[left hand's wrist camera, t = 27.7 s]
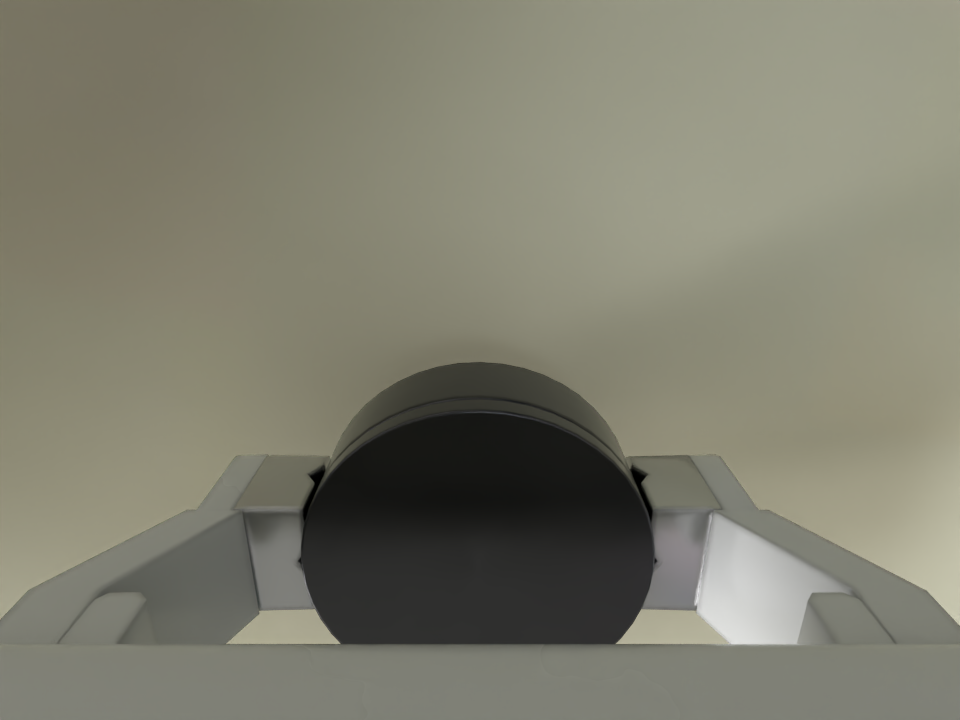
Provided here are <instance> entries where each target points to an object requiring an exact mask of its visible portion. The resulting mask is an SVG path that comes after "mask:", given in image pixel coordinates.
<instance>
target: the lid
mask: <svg viewBox="0 0 960 720" xmlns="http://www.w3.org/2000/svg"><path fill="white" fill-rule="evenodd" d="M654 560H655V544H654V534H653V529H652V525H651V521H650V518H649V514H648V511H647V509H646V506H645V504H644V502H643V499H642V497H641V495H640V492H639V490H638V488H637V485H636V483H635V480H634V478H633V476H632V473H631V471H630V469H629V466H628V464H627V462H626V459H625V457H624V454H623V452H622V450H621V448H620V445H619V443H618V441H617V439H616V437H615V435H614V434H613V432H612V430H611V429H610V427H609V426H608V424H607V423H606V421H605V420H604V419H603V418H602V417H601V416H600V414H599V413H598V412H597V411H596V410H595V409H594V408H593V407H592V406H591V405H590V404H589V403H588V402H587V401H585V400H584V399H583V398H582V397H581V396H580V395H578V394H577V393H575V392H574V391H572V390H571V389H569V388H568V387H566V386H565V385H563V384H561V383H559V382H557V381H555V380H553V379H551V378H549V377H547V376H545V375H543V374H540V373H537V372H534V371H531V370H528V369H525V368H520V367H515V366H511V365H506V364H498V363H485V362H474V363H457V364H451V365H445V366H440V367H436V368H432V369H429V370H426V371H422V372H419V373H416V374H414V375H412V376H409V377H407V378H405V379H403V380H400V381H398V382H397V383H395V384H393V385H392V386H390V387H389V388H387V389H385V390H384V391H382V392H381V393H379V394H378V395H377V396H376V397H374V398H373V399H372V400H371V401H370V402H368V403H367V404H366V405H365V406H364V407H363V408H362V409H361V410H360V411H359V413H358V414H357V415H356V416H355V417H354V418H353V419H352V421H351V422H350V424H349V425H348V427H347V428H346V429H345V431H344V432H343V434H342V436H341V438H340V440H339V442H338V444H337V446H336V448H335V451H334V453H333V455H332V457H331V460H330V462H329V464H328V466H327V469H326V471H325V473H324V475H323V478H322V480H321V482H320V484H319V487H318V489H317V491H316V494H315V496H314V498H313V500H312V502H311V505H310V507H309V510H308V513H307V516H306V519H305V523H304V526H303V533H302V540H301V566H302V571H303V576H304V581H305V585H306V588H307V591H308V594H309V596H310V599H311V602H312V604H313V606H314V608H315V609H316V611H317V613H318V615H319V617H320V619H321V620H322V621H323V623H324V624H325V626H326V627H327V628H328V630H329V631H330V632H331V634H332V635H333V636H334V637H335V638H336V639H337V640H338V641H339V642H340V643H341V644H616V643H617V642H618V641H619V640H620V639H621V638H622V636H623V635H624V634H625V633H626V631H627V630H628V629H629V627H630V626H631V625H632V624H633V622H634V620H635V619H636V617H637V615H638V614H639V612H640V610H641V608H642V607H643V604H644V602H645V599H646V597H647V594H648V592H649V589H650V584H651V580H652V576H653V571H654Z"/></svg>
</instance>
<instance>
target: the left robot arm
mask: <svg viewBox="0 0 960 720" xmlns="http://www.w3.org/2000/svg"><path fill="white" fill-rule="evenodd" d="M625 459H626V462H627V464H628V466H629V469H630V471H631V473H632V476H633V478H634V480H635V483H636V485H637V488H638V490H639V492H640V495H641V497H642V499H643V502H644V504H645V506H646V509H647V511H648V514H649V518H650V521H651V525H652V529H653V534H654V544H655V560H654V571H653V576H652V580H651V584H650V589H649V592H648V594H647V597H646V599H645V602H644V604H643V607H642V608H641V609H660V610H696V613H697V614H698V615H699V616H700V617H701V618H702V619H703V620H704V621H706V622H707V623H708V624H709V625H710V626H711V627H712V628H713V629H714V630H715V631H716V632H718V633H719V634H720V635H721V636H722V637H723V638H724V639H725V640H726V641H727V642H728V643H730V644H226V643H227V642H228V641H229V640H231V639H232V638H233V637H234V636H235V635H236V634H237V633H238V632H239V631H241V630H242V629H243V628H244V627H245V626H246V625H247V624H248V623H249V622H250V621H252V620H253V619H254V618H255V617H256V616H257V615H258V614H259V610H295V609H315V608H314V606H313V604H312V602H311V599H310V596H309V594H308V591H307V588H306V585H305V581H304V576H303V571H302V566H301V540H302V533H303V526H304V523H305V519H306V516H307V513H308V510H309V507H310V505H311V502H312V500H313V498H314V496H315V494H316V491H317V489H318V487H319V484H320V482H321V480H322V478H323V475H324V473H325V471H326V469H327V466H328V464H329V462H330V460H331V458H330V456H298V455H270V456H269V455H268V454H264V455H239V456H236V457H235V458H234V459H233V460H232V462H231V463H230V465H229V466H228V467H227V469H226V470H225V471H224V473H223V474H222V476H221V477H220V478H219V480H218V481H217V482H216V484H215V485H214V487H213V488H212V489H211V491H210V492H209V493H208V495H207V496H206V498H205V499H204V500H203V502H202V503H201V504H200V506H199V507H198V509H197V510H186V511H184V512H182V513H180V514H178V515H176V516H174V517H172V518H170V519H168V520H166V521H164V522H162V523H160V524H158V525H156V526H154V527H152V528H150V529H148V530H146V531H144V532H142V533H140V534H138V535H136V536H134V537H132V538H130V539H128V540H127V541H125V542H123V543H121V544H119V545H117V546H115V547H113V548H111V549H109V550H107V551H105V552H103V553H101V554H99V555H97V556H95V557H93V558H91V559H89V560H87V561H85V562H83V563H81V564H79V565H77V566H75V567H73V568H71V569H69V570H67V571H65V572H63V573H61V574H59V575H57V576H55V577H53V578H51V579H49V580H47V581H45V582H44V583H42V584H40V585H38V586H36V587H34V588H32V589H30V590H28V591H27V592H26V593H25V594H24V596H23V597H22V598H21V599H20V600H19V601H18V602H17V603H16V604H15V605H14V606H13V607H12V608H11V609H10V610H9V611H8V612H7V613H6V614H5V615H4V616H3V617H2V618H1V620H0V720H960V626H959V625H958V624H957V623H956V621H955V620H954V619H953V618H952V617H951V616H950V615H949V614H948V613H947V612H946V611H945V610H944V609H943V608H942V607H941V605H940V604H939V603H938V602H937V601H936V600H935V599H934V598H933V597H932V596H931V595H930V594H929V593H928V592H927V591H926V590H924V589H922V588H920V587H918V586H916V585H914V584H912V583H910V582H908V581H907V580H905V579H903V578H901V577H899V576H897V575H895V574H893V573H891V572H889V571H887V570H885V569H883V568H881V567H879V566H877V565H875V564H873V563H871V562H869V561H867V560H865V559H863V558H862V557H860V556H858V555H856V554H854V553H852V552H850V551H848V550H846V549H844V548H842V547H840V546H838V545H836V544H834V543H832V542H830V541H828V540H826V539H824V538H822V537H820V536H818V535H817V534H815V533H813V532H811V531H809V530H807V529H805V528H803V527H801V526H799V525H797V524H795V523H793V522H791V521H789V520H787V519H785V518H783V517H781V516H779V515H777V514H775V513H773V512H772V511H770V510H759V509H758V508H757V507H756V505H755V504H754V502H753V501H752V500H751V498H750V497H749V495H748V494H747V493H746V491H745V490H744V489H743V487H742V486H741V484H740V483H739V482H738V480H737V479H736V478H735V476H734V475H733V473H732V472H731V471H730V469H729V468H728V466H727V465H726V464H725V462H724V461H723V460H722V458H721V457H720V456H718V455H716V454H709V455H675V456H634V457H625Z"/></svg>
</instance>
